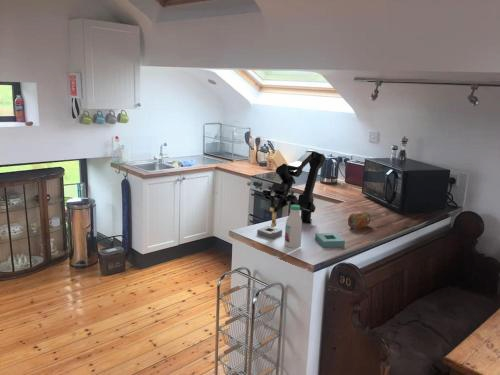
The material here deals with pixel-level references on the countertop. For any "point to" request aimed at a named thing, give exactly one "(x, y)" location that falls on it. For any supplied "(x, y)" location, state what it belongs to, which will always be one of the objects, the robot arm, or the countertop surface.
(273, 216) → the brass T-key
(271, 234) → the charcoal socket block
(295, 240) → the milk bottle
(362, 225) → the tin
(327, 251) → the countertop surface
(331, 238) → the teal square socket block
